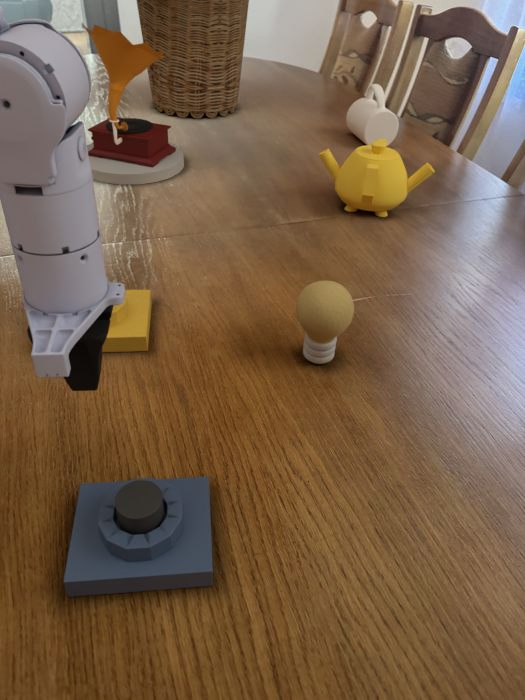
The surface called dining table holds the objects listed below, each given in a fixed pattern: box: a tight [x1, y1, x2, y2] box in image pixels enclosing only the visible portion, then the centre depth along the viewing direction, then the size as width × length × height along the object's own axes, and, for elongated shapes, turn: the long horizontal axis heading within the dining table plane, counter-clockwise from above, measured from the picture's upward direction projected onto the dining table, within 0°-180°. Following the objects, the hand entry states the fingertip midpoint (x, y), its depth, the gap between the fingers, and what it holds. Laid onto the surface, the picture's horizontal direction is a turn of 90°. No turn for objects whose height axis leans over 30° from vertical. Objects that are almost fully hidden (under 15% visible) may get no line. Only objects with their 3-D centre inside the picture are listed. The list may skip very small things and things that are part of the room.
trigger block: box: [102, 289, 153, 353], centre depth 68 cm, size 12×10×4 cm
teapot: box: [318, 139, 436, 218], centre depth 97 cm, size 20×18×11 cm
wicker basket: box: [136, 0, 250, 120], centre depth 133 cm, size 35×35×33 cm
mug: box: [345, 83, 400, 147], centre depth 124 cm, size 8×10×12 cm
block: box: [62, 476, 214, 598], centre depth 45 cm, size 11×9×4 cm
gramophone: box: [82, 24, 185, 186], centre depth 103 cm, size 20×20×25 cm
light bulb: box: [295, 280, 355, 365], centre depth 63 cm, size 6×6×10 cm
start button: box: [115, 480, 164, 534], centre depth 44 cm, size 4×4×2 cm
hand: (85, 385), depth 46 cm, fingers closed
